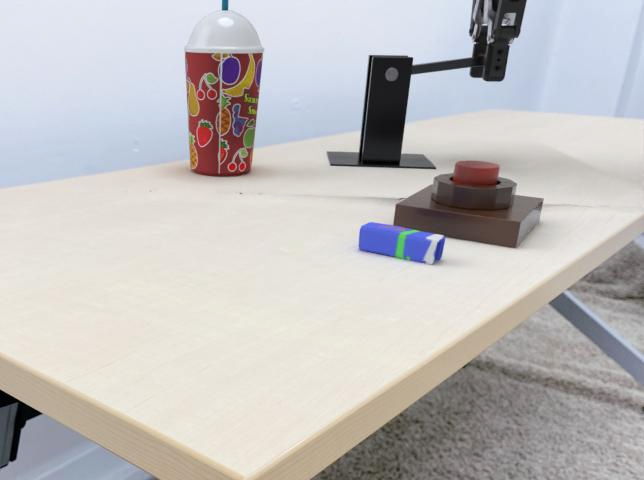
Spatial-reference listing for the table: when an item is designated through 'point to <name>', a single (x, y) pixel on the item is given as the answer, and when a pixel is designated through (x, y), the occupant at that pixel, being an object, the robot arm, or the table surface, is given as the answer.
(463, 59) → the lever
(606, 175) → the table surface
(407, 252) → the eraser
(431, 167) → the bracket
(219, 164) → the smoothie
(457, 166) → the button
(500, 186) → the button block
